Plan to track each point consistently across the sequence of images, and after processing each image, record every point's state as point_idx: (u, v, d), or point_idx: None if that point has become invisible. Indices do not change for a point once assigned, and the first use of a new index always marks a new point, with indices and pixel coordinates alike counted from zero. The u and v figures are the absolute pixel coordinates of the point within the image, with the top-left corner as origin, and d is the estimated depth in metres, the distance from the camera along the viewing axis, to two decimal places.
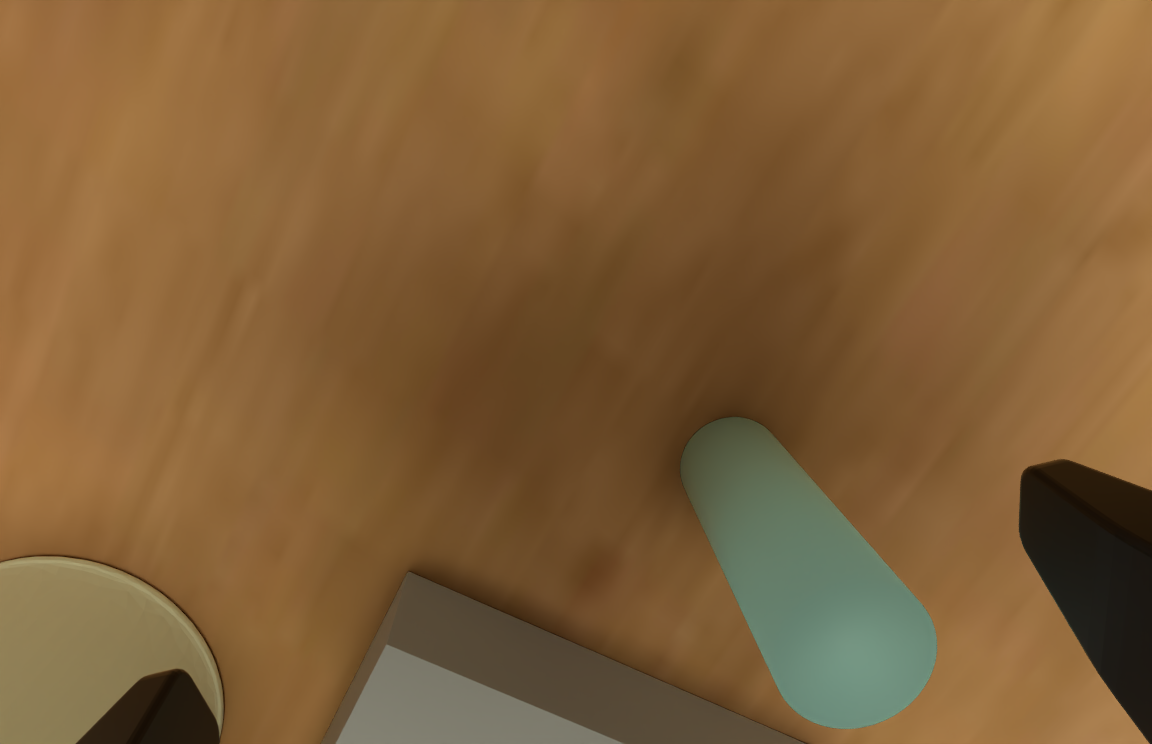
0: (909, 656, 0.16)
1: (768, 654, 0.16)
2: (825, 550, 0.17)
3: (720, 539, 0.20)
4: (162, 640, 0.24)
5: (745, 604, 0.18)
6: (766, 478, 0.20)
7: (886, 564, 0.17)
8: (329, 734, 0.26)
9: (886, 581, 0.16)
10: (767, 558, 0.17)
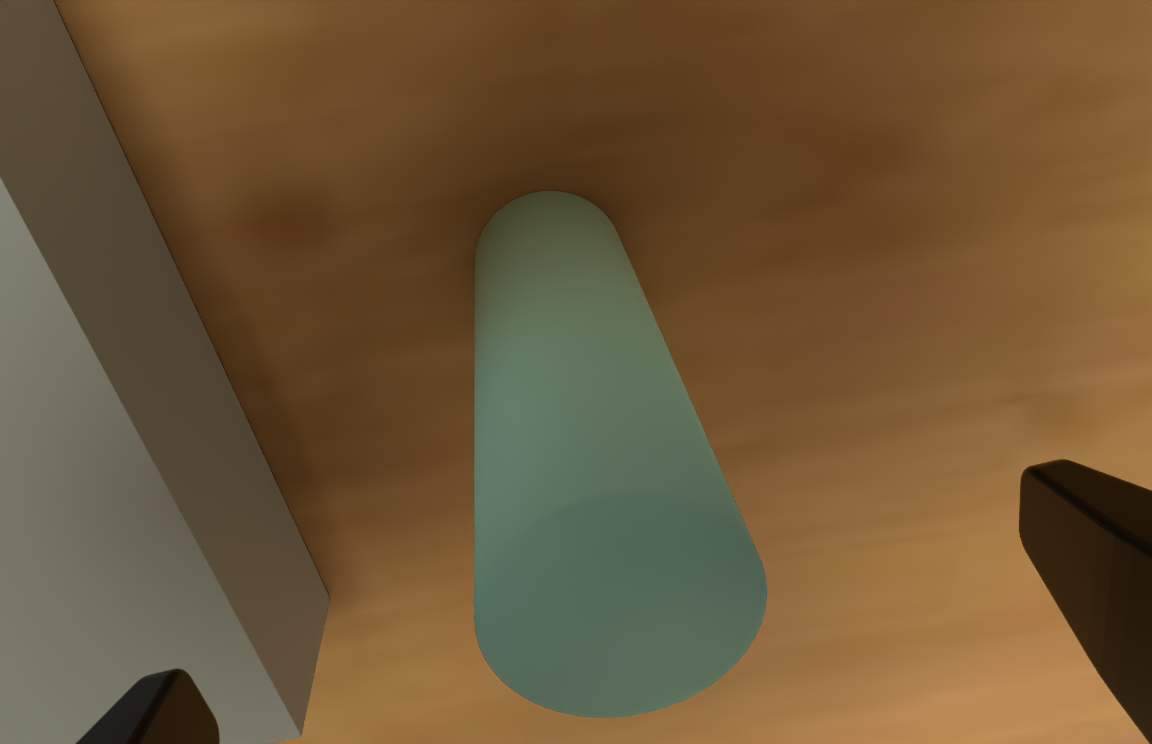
0: (675, 666, 0.09)
1: (518, 516, 0.09)
2: (699, 450, 0.10)
3: (522, 317, 0.12)
4: None
5: (514, 420, 0.10)
6: (636, 303, 0.13)
7: None
8: None
9: None
10: (605, 392, 0.10)
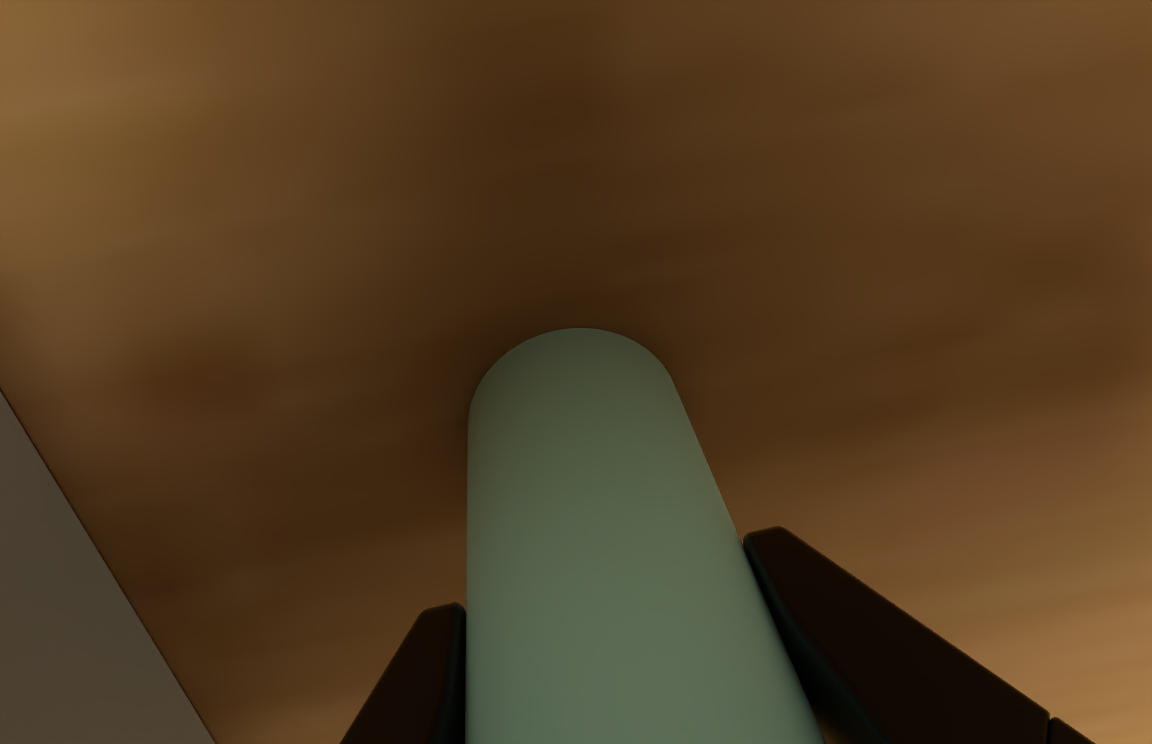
0: None
1: None
2: None
3: (550, 645, 0.07)
4: None
5: None
6: (738, 590, 0.08)
7: None
8: None
9: None
10: None
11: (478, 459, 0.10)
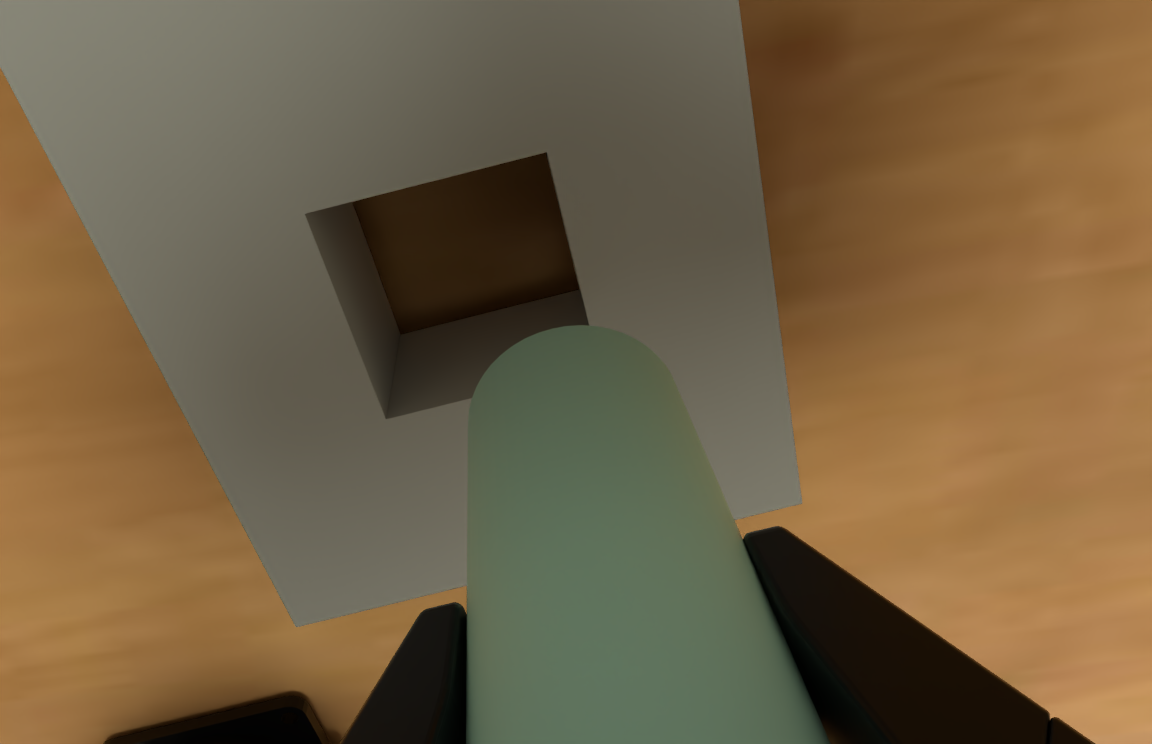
0: None
1: None
2: None
3: (551, 642, 0.07)
4: None
5: None
6: (740, 587, 0.08)
7: None
8: None
9: None
10: None
11: (478, 456, 0.10)
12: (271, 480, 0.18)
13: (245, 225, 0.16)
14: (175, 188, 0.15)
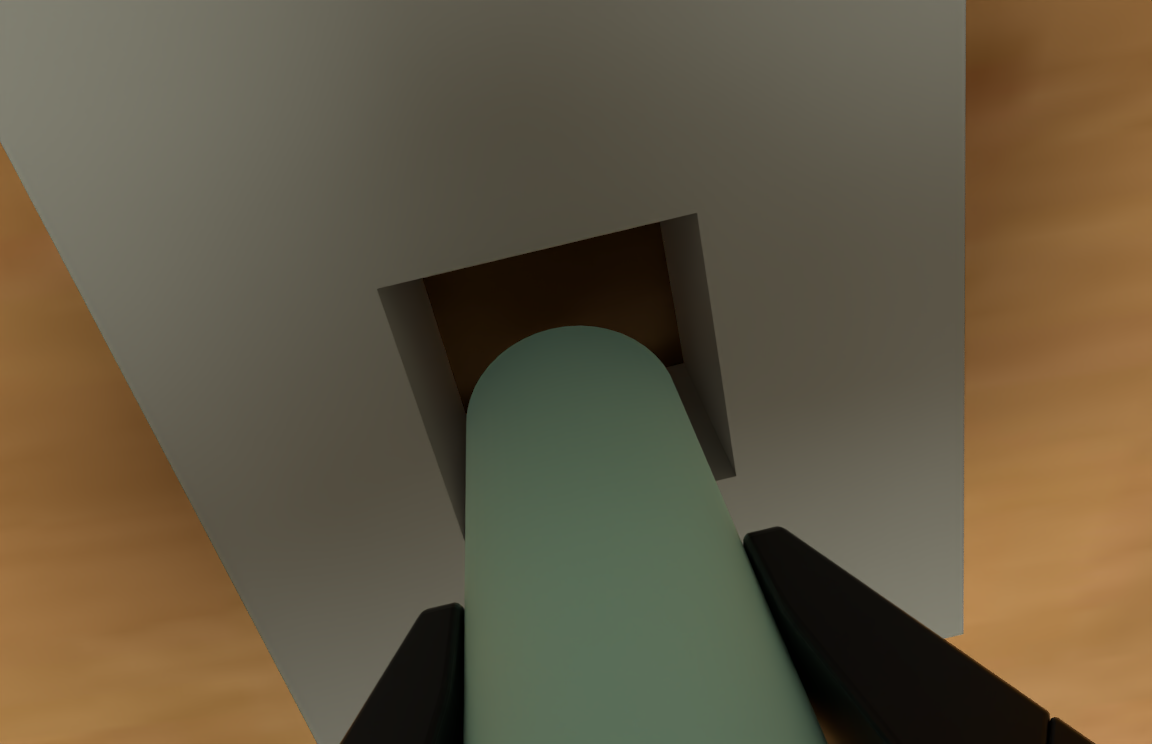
0: None
1: None
2: None
3: (549, 643, 0.07)
4: None
5: None
6: (739, 587, 0.08)
7: None
8: None
9: None
10: None
11: (477, 457, 0.10)
12: (315, 612, 0.15)
13: (298, 303, 0.12)
14: (207, 255, 0.12)
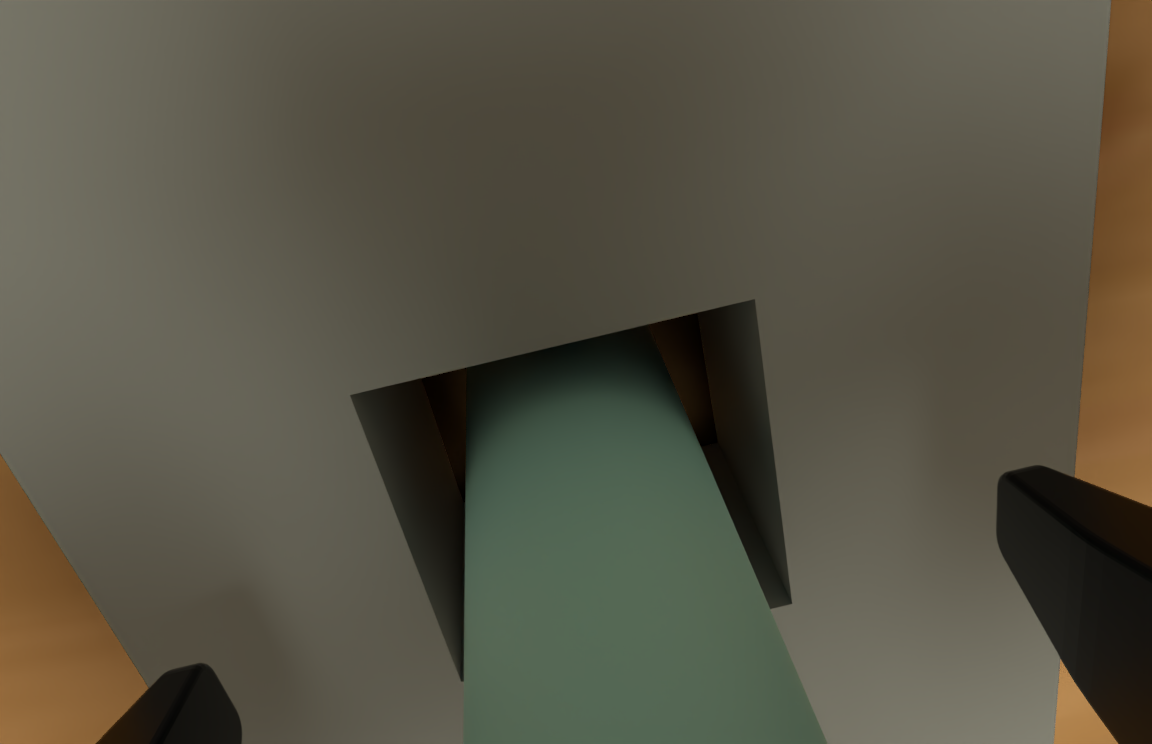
0: None
1: None
2: None
3: (533, 494, 0.09)
4: None
5: (525, 715, 0.06)
6: (688, 461, 0.09)
7: None
8: None
9: None
10: (669, 677, 0.06)
11: (475, 377, 0.12)
12: None
13: (250, 413, 0.10)
14: (132, 358, 0.09)
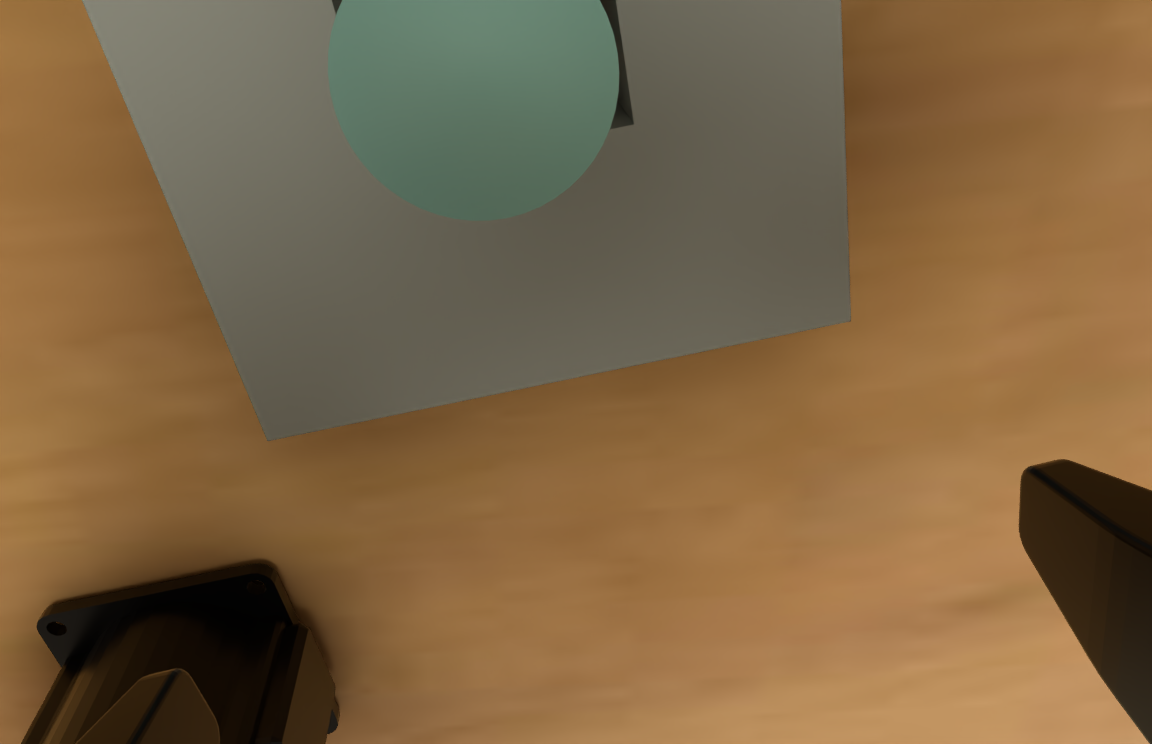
0: (532, 159, 0.10)
1: None
2: None
3: None
4: None
5: None
6: None
7: None
8: None
9: (611, 29, 0.09)
10: None
11: None
12: (246, 247, 0.16)
13: None
14: None
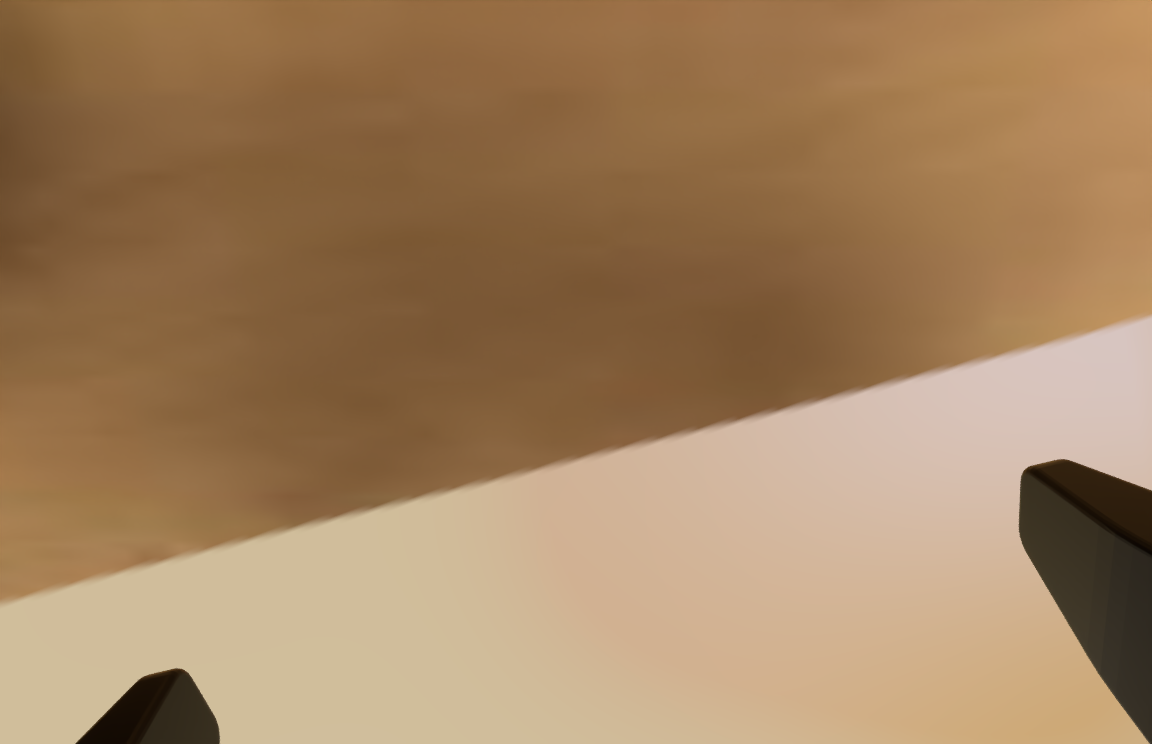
0: None
1: None
2: None
3: None
4: None
5: None
6: None
7: None
8: None
9: None
10: None
11: None
12: None
13: None
14: None
